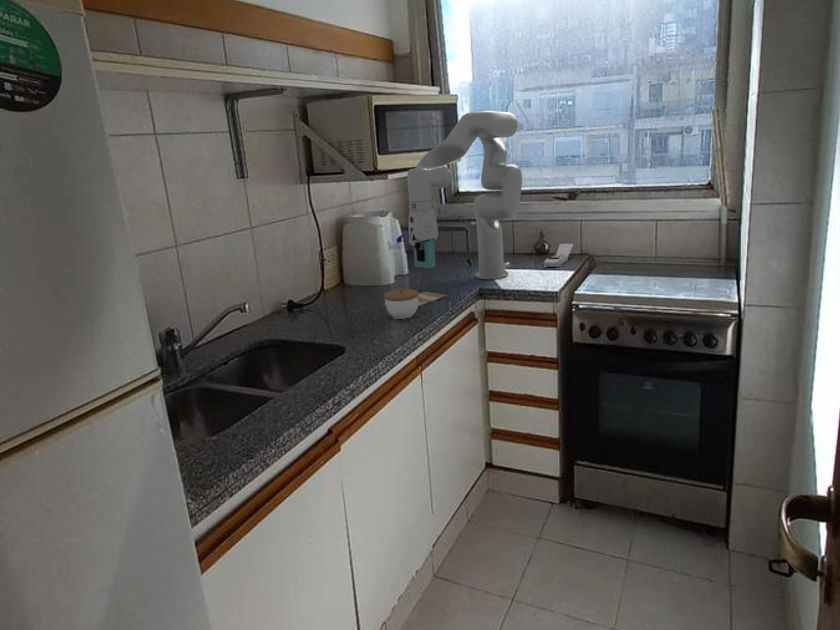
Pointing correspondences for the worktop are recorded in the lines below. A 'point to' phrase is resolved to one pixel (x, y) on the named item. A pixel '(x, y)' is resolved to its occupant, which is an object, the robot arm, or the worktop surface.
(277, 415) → the worktop surface
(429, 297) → the mat
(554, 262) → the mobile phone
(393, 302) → the lidded jar
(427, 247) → the tile
